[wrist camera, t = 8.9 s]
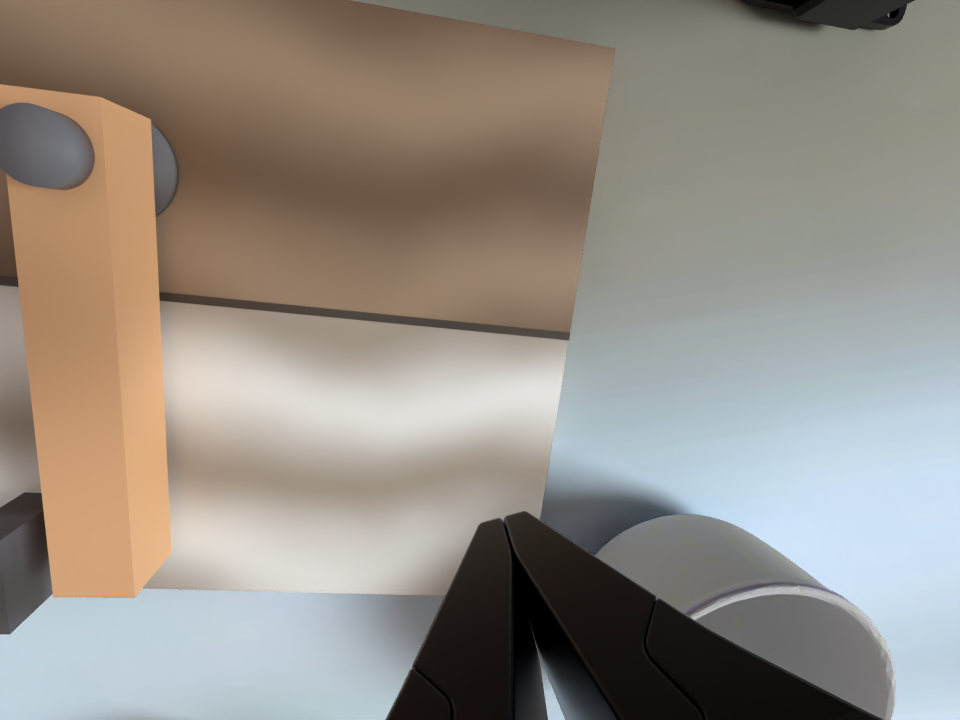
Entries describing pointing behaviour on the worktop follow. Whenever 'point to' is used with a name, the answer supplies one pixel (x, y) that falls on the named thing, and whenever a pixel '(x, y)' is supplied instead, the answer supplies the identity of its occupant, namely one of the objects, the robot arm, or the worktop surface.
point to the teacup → (759, 603)
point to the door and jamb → (327, 279)
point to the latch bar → (90, 333)
